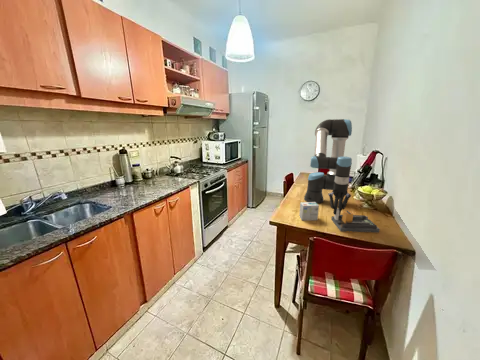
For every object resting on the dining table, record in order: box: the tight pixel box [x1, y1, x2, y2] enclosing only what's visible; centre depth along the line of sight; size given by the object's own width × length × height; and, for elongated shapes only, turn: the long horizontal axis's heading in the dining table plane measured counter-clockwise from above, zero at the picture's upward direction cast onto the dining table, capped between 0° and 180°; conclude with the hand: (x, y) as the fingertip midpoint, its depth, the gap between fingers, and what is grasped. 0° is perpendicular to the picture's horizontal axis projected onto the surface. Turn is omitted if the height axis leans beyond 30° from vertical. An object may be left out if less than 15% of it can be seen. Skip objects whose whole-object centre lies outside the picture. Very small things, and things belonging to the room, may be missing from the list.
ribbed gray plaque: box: [338, 214, 378, 228], centre depth 125 cm, size 14×20×2 cm
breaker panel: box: [331, 215, 381, 234], centre depth 125 cm, size 15×22×4 cm
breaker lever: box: [342, 210, 354, 223], centre depth 125 cm, size 5×4×7 cm
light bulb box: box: [298, 201, 320, 221], centre depth 134 cm, size 11×7×11 cm, turn 92°
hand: (336, 218), depth 126 cm, fingers closed
